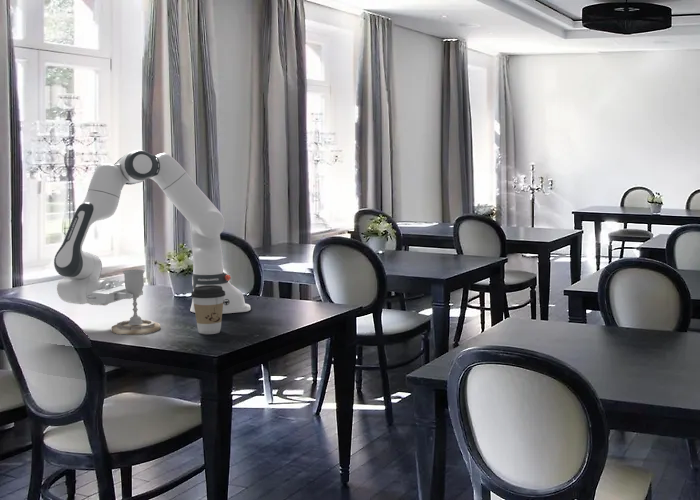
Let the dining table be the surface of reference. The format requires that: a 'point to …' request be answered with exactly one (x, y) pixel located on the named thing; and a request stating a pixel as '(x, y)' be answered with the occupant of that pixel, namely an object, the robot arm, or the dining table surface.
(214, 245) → the robot arm
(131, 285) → the chalice
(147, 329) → the beige ring base
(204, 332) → the coffee cup
